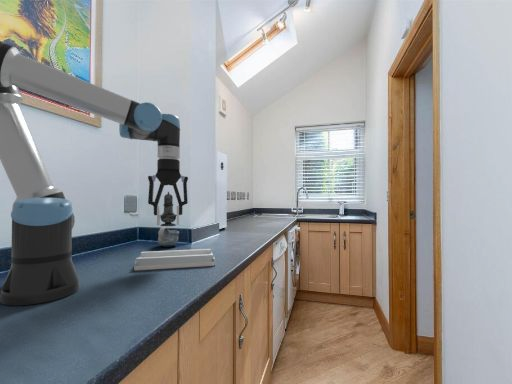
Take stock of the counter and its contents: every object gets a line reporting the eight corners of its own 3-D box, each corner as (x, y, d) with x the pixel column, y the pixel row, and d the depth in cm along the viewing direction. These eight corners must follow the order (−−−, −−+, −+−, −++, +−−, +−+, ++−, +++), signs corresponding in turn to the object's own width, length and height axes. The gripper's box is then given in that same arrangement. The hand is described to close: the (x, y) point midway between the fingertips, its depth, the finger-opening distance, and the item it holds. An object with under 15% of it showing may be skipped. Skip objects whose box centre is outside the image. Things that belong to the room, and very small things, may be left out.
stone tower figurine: (166, 224, 100) (166, 191, 100) (180, 224, 98) (180, 191, 98) (155, 226, 94) (155, 191, 95) (169, 226, 93) (170, 191, 93)
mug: (180, 244, 134) (181, 224, 134) (175, 249, 122) (175, 227, 122) (160, 244, 134) (161, 224, 134) (152, 249, 121) (153, 227, 121)
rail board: (134, 270, 88) (134, 259, 88) (140, 261, 99) (140, 251, 100) (215, 265, 94) (215, 255, 94) (211, 257, 106) (211, 248, 106)
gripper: (138, 156, 91) (137, 226, 90) (196, 158, 95) (195, 225, 95) (141, 159, 98) (141, 224, 98) (195, 161, 103) (195, 222, 102)
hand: (168, 224), depth 96 cm, fingers closed on stone tower figurine, 6 cm apart
